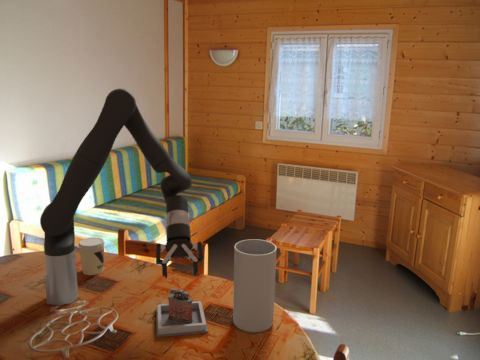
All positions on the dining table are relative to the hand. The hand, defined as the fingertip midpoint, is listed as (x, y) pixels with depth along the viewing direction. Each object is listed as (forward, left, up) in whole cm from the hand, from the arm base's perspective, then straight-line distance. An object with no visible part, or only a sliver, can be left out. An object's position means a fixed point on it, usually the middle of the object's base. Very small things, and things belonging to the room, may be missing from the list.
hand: (180, 276), depth 131 cm
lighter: (0, +1, -15) cm, 15 cm away
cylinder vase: (+22, -3, -16) cm, 27 cm away
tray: (0, +1, -16) cm, 16 cm away
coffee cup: (-31, +42, -16) cm, 54 cm away
